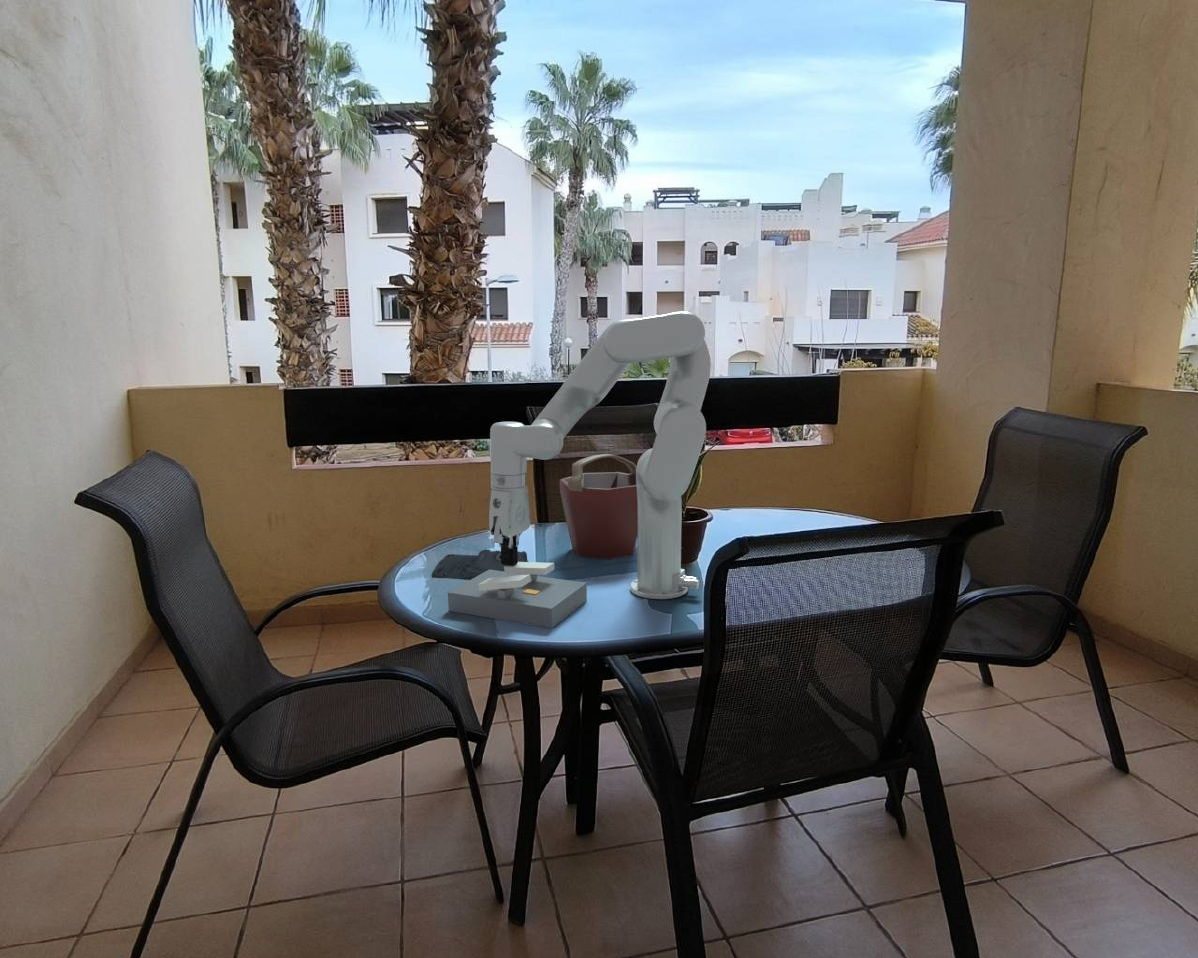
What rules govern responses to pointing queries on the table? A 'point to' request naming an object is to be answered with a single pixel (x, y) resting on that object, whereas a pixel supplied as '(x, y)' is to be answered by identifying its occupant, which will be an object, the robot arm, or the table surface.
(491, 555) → the dark slate chunk
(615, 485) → the bucket
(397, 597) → the table surface
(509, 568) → the back rocker
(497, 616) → the switch box
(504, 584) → the front rocker
